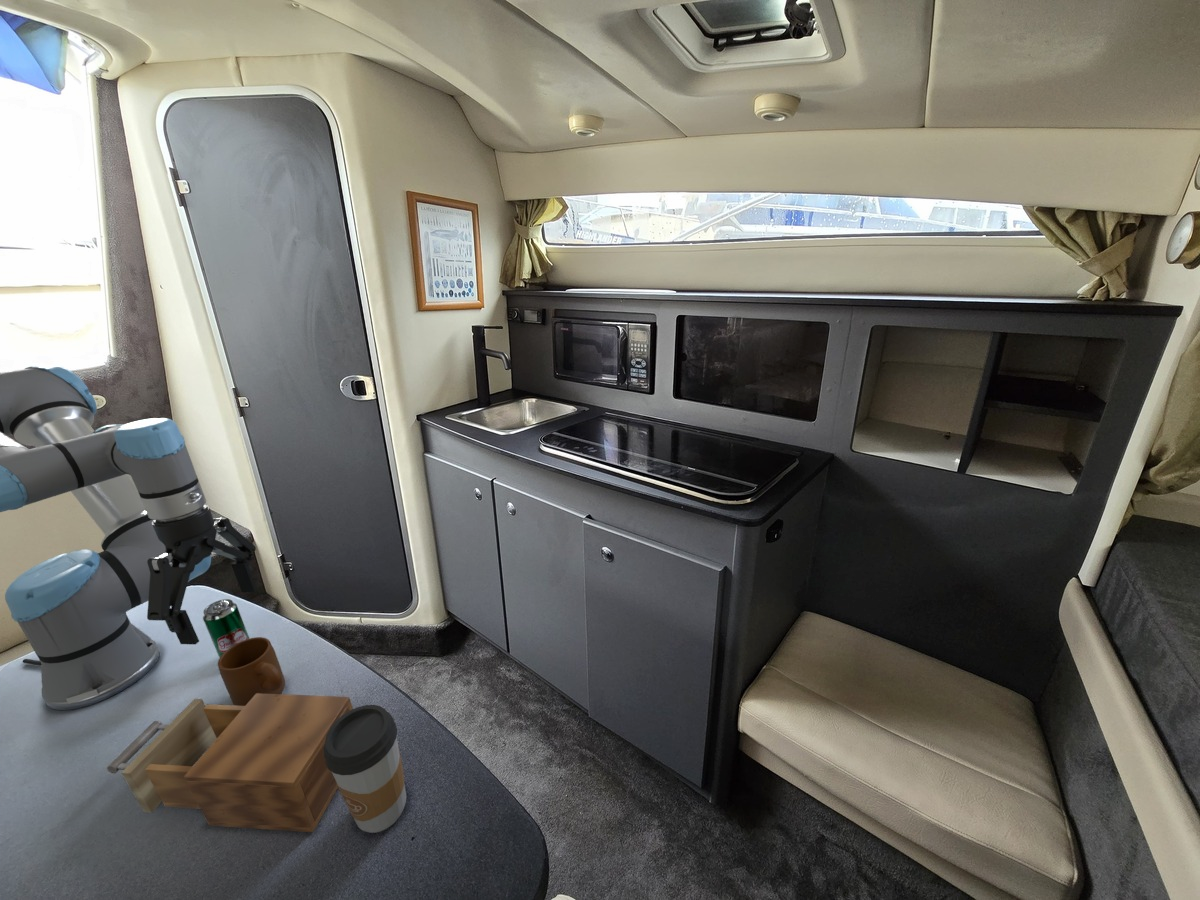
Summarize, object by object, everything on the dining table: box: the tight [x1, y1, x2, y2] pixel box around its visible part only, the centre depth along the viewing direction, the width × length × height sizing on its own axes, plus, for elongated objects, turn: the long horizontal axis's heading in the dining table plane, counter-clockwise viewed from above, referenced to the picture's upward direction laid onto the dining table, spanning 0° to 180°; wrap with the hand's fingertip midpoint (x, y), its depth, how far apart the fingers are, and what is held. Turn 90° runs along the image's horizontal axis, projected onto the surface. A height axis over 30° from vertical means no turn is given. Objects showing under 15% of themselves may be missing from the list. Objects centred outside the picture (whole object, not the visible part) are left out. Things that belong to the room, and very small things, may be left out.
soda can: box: [202, 598, 250, 659], centre depth 91 cm, size 5×5×12 cm
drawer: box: [106, 698, 245, 814], centre depth 70 cm, size 19×11×8 cm, turn 86°
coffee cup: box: [324, 704, 407, 834], centre depth 64 cm, size 8×8×15 cm
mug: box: [217, 636, 286, 706], centre depth 82 cm, size 12×8×9 cm, turn 63°
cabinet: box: [184, 693, 354, 833], centre depth 69 cm, size 15×13×10 cm
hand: (222, 615), depth 89 cm, fingers open, 13 cm apart
